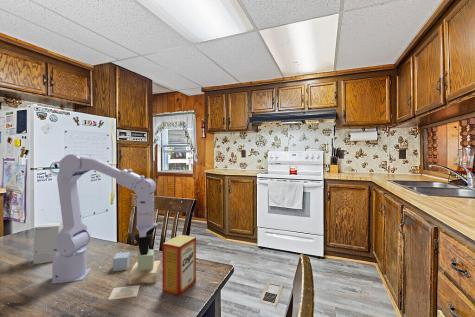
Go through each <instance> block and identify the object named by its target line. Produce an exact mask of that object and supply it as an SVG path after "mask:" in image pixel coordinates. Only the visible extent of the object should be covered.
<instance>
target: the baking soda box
mask: <svg viewBox="0 0 475 317" xmlns="http://www.w3.org/2000/svg"><path fill="white" fill-rule="evenodd" d="M161 250H162V251H161V252H162V255H161V256H162V259H161V270H162V282H161V284H162V292H164V293H168V294H171V295H174V297H180V296H182V295H183V294H184V293H185V292H186V291H187V290H188V289H190V287H191V286H193V285H194V284H195V283H196V281H197V237H196V236H192V235H186V234H179V235H177V236H174V237H172V238H170V239H169V240H167V241H165V242H163V243H162V249H161Z"/></svg>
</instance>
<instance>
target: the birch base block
mask: <svg viewBox="0 0 475 317" xmlns="http://www.w3.org/2000/svg"><path fill="white" fill-rule="evenodd" d="M161 270H162V260H154V266H153V269H150V270H142V271H138V261H136V262H135V263H134V265H133V266H132V268H131V269H130V271H129V273H128V279H127V280H128V282H127V283H128V285H134V284H137V285H138V284H150V283H151V284H152V283H157V282H158V279H159V275H160V272H161Z"/></svg>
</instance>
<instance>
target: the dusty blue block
mask: <svg viewBox="0 0 475 317" xmlns="http://www.w3.org/2000/svg"><path fill="white" fill-rule="evenodd" d="M130 265H131V252H130V251H128V252H117V253H115V255H114V256H113V258H112V271H113V272H118V271H127V270H128V268H129V267H130Z"/></svg>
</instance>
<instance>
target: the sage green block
mask: <svg viewBox="0 0 475 317" xmlns="http://www.w3.org/2000/svg"><path fill="white" fill-rule="evenodd" d="M154 261H155V249H148V253H147V255H141V254H140V250H139V252H138V255H137V262H138V271H142V270H150V269H153V266H154Z"/></svg>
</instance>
